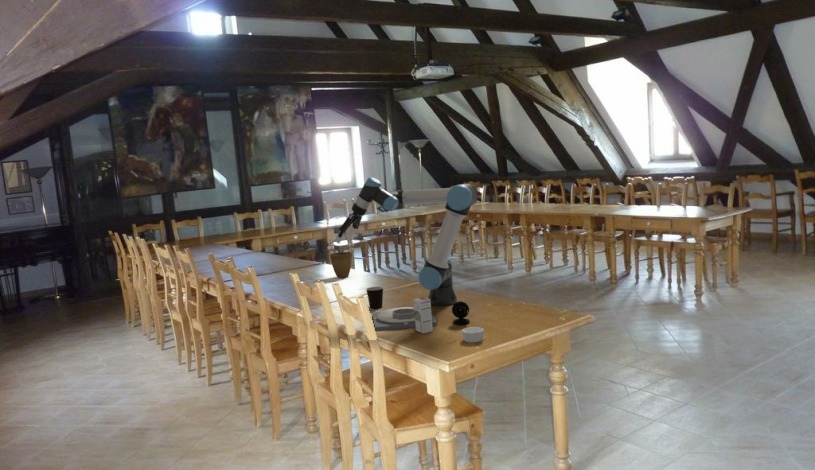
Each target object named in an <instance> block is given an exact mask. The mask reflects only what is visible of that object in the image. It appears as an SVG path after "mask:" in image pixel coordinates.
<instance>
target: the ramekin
mask: <svg viewBox="0 0 815 470" xmlns="http://www.w3.org/2000/svg"><path fill="white" fill-rule="evenodd" d="M484 330H485V329H484V328H482V327H480V326H470V327H464V328H462V329H461V333H462V338H463V341H464V342H466V343H472V344H473V343H479V342H482V341H483V340H484Z"/></svg>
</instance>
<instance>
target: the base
mask: <svg viewBox="0 0 815 470" xmlns="http://www.w3.org/2000/svg"><path fill="white" fill-rule="evenodd" d="M380 312H381V311H375V312H372V321H373V326H374V325H375V327H374V330H375V329H376V331H386V330H387V331H388V330H396V329H397V330H399V329H409V328H415V322H409V323H386V322H382V321H380V320H378V313H380ZM431 315H432V327H434V326H438V321H437V320H436V318H435V316H434V314H433V312H432V311H431Z"/></svg>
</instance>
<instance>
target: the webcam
mask: <svg viewBox="0 0 815 470" xmlns="http://www.w3.org/2000/svg"><path fill="white" fill-rule="evenodd" d="M451 311H452V315H453V316H454V317H455V319H453V321H452V324H453V325H455V326H456V325H457V326H466V325H468V324H470V323H471V322H470V319H468V318H466V317H467V316H468V315H469V313H470V307H469V305H468V304H467V303H466V301H465V302H464V301H457V302H456V303H455V304H452V307H451Z"/></svg>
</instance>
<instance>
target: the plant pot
mask: <svg viewBox="0 0 815 470" xmlns="http://www.w3.org/2000/svg"><path fill="white" fill-rule="evenodd" d="M329 258H330V263H331V266H332V268H333V272H334V274H335V276H336V278H337V277H338V278H337V279H347V278H349V276H350V272H351V269H352V268H351V267H352V260H353V252H351V251H340V252H333V253H330V254H329ZM346 277H347V278H346Z"/></svg>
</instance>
